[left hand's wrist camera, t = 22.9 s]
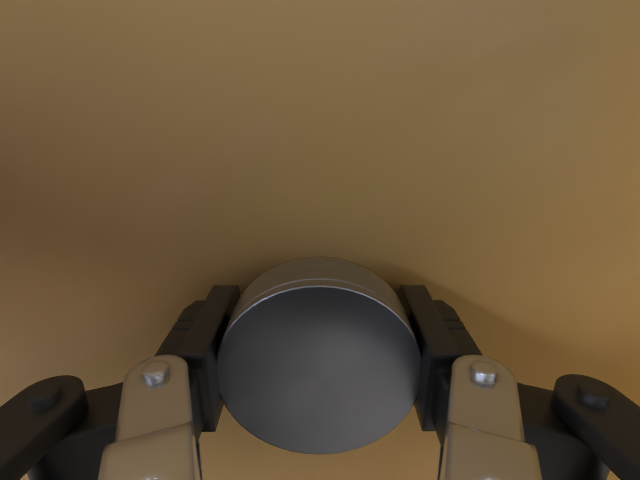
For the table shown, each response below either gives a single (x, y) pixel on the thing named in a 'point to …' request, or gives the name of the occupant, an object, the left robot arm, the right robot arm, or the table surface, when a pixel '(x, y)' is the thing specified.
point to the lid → (319, 357)
